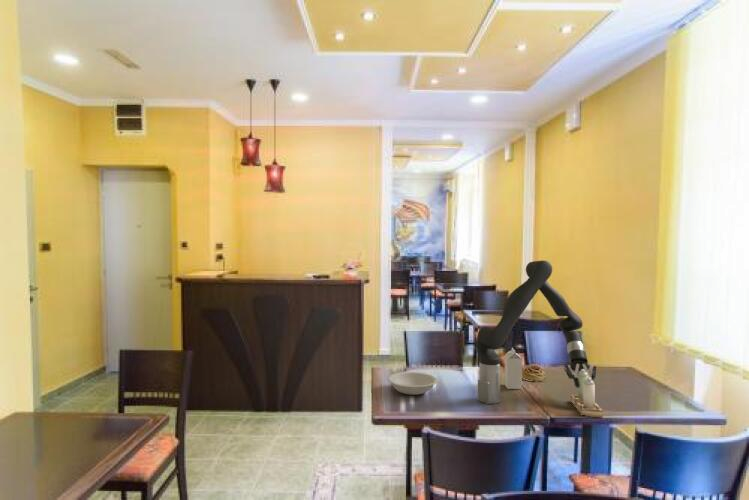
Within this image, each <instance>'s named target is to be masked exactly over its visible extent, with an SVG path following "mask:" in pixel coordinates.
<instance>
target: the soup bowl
mask: <svg viewBox="0 0 749 500" xmlns="http://www.w3.org/2000/svg"><path fill="white" fill-rule="evenodd" d="M438 380H439V379H438V378H437V377H436V376H434V375H433V374H430V373H429V374H428V373H425V372H418V371H402V372H396V373H393V374H390V375H389V376H387V381H388V382H389V383H390V384H391V386H392V387H393V388H394V389H395V390H396V391H398V392H399V393H401V394H405V395H411V396H413V395H423V394H425V393H427V392H429V391H430V390H431V389H433V387H434V386H435V385H436V384H437V383H438Z"/></svg>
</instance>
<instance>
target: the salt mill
mask: <svg viewBox="0 0 749 500" xmlns="http://www.w3.org/2000/svg"><path fill="white" fill-rule="evenodd" d="M595 386H596V385H595V383H594V380H592V379H591V378H590V377H588V378H587V379H586V380H584V383H583V407H584V408H589V409H595V402H596V401H595V400H596V395H595V394H596V392H595V391H596V390H595V389H596V387H595Z"/></svg>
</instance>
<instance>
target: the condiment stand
mask: <svg viewBox="0 0 749 500" xmlns="http://www.w3.org/2000/svg"><path fill="white" fill-rule="evenodd" d="M569 399H570V400H571V401H572V402H573V404H574V405H575V406H576V407H577V409H578V410H579V411H580V413H581V414H582V415H586V416H585V417H588V416H590V417H591V418H603V417H604V412H603V410H604V409H602V408H601V406H600V405H599V404H598V403H597V402H596V401H595V409H589V408H584V407H583V399H579V398H578V397H577V394H570V398H569ZM571 401H570V402H571ZM573 404H572V405H573ZM574 405H573V406H574ZM575 406H574V407H575ZM577 409H576V410H577ZM578 410H577V411H578ZM580 413H579V414H580ZM581 414H580V415H581ZM582 415H581V416H582Z"/></svg>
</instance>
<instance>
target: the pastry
mask: <svg viewBox="0 0 749 500" xmlns="http://www.w3.org/2000/svg"><path fill="white" fill-rule="evenodd" d="M522 377H523V378H525V379H528V380H533V381H542V382H543V381H544V380H545V379H546V373H545V371H544V369H543V368H542V367H541V366H540V365H539V364H534V363H533V364H527V365H525V366H524V367H522ZM544 378H545V379H544ZM543 379H544V380H543Z"/></svg>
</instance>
